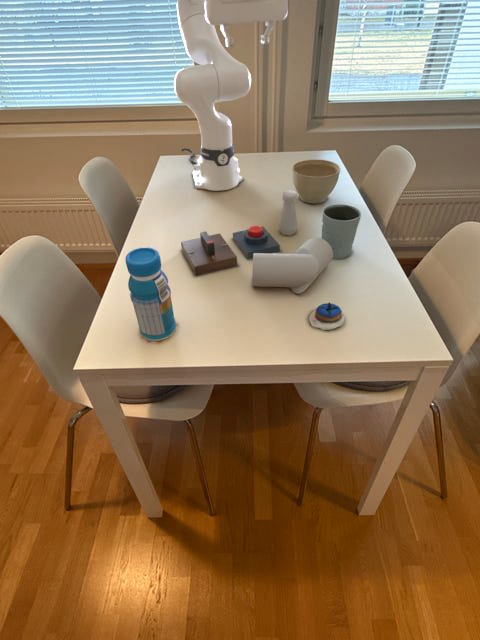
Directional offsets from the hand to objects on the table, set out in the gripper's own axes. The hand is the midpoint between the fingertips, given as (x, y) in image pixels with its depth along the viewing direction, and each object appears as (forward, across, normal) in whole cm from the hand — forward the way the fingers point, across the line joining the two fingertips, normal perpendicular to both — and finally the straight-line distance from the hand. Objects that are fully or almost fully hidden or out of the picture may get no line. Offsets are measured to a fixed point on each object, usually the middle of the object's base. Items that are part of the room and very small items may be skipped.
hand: (247, 45), depth 99 cm
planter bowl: (+48, -26, -5) cm, 55 cm away
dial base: (+47, +20, +17) cm, 54 cm away
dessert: (+48, +3, +53) cm, 71 cm away
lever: (+44, +20, +17) cm, 51 cm away
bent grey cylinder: (+48, +4, +35) cm, 59 cm away
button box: (+47, +5, +16) cm, 50 cm away
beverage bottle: (+48, +40, +41) cm, 74 cm away
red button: (+44, +5, +16) cm, 47 cm away
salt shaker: (+48, -7, +13) cm, 50 cm away
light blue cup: (+48, -15, +28) cm, 57 cm away
